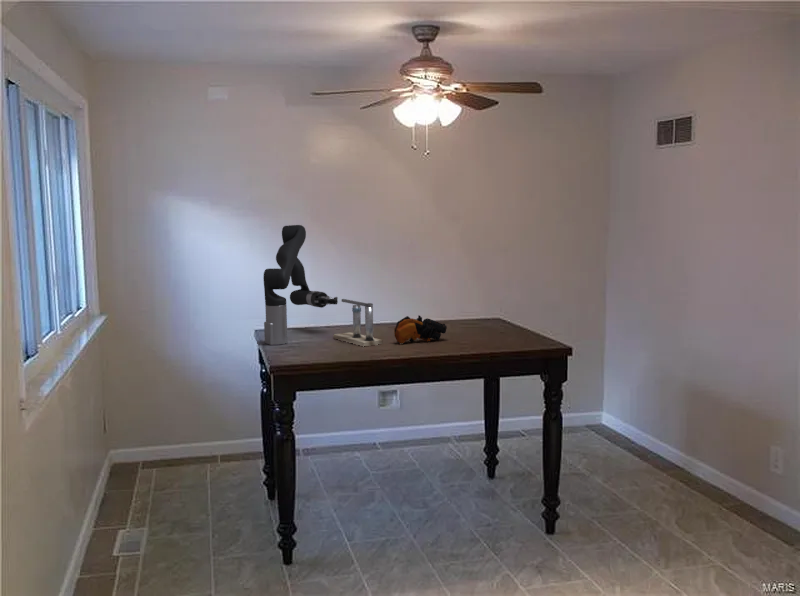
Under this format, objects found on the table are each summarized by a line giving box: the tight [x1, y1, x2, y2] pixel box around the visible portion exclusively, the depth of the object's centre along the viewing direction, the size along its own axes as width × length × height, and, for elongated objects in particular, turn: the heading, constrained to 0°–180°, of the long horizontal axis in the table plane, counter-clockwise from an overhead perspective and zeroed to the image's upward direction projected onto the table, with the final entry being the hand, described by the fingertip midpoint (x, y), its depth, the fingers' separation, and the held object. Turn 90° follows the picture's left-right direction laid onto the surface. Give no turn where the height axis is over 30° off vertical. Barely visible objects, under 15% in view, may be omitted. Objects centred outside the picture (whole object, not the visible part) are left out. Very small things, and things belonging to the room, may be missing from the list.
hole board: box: [333, 331, 384, 348], centre depth 342 cm, size 10×25×2 cm, turn 36°
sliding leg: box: [351, 304, 362, 337], centre depth 341 cm, size 4×4×14 cm
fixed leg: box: [341, 298, 374, 341], centre depth 341 cm, size 3×23×16 cm, turn 36°
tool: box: [393, 314, 448, 344], centre depth 340 cm, size 8×23×15 cm, turn 110°
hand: (335, 302), depth 354 cm, fingers closed
